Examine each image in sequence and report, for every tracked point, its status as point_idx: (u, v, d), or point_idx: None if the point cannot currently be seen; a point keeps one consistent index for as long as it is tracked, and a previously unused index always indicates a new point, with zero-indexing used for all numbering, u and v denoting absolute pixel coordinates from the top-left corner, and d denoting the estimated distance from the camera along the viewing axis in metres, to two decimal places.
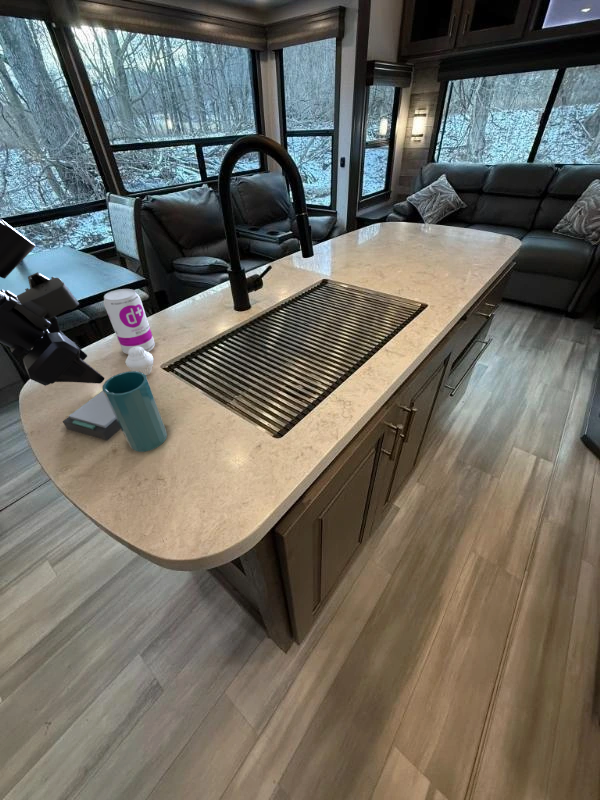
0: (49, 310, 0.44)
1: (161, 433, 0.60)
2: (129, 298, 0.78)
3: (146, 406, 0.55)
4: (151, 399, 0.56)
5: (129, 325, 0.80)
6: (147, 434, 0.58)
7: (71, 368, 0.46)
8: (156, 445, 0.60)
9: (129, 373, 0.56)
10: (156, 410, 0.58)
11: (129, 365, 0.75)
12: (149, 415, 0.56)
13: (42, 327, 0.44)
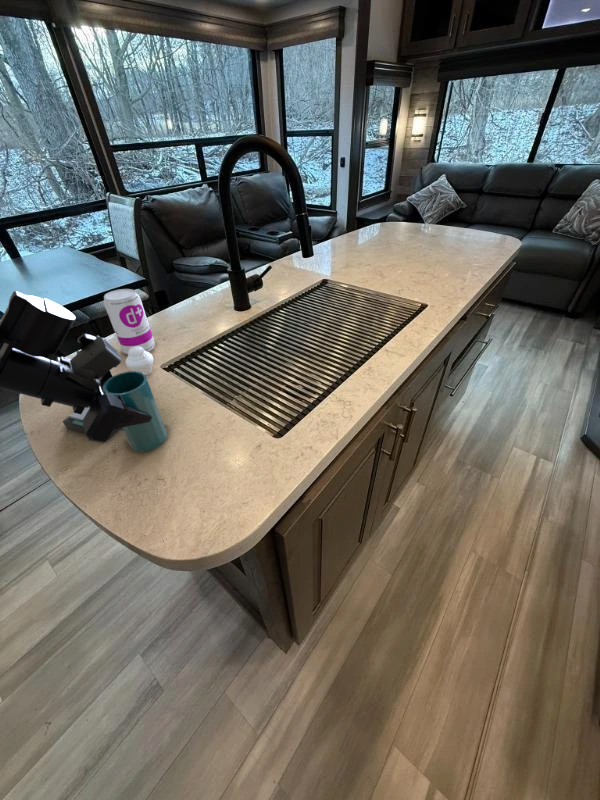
0: (97, 372, 0.48)
1: (161, 433, 0.60)
2: (129, 298, 0.78)
3: (146, 406, 0.55)
4: (151, 399, 0.56)
5: (129, 325, 0.80)
6: (147, 434, 0.58)
7: (121, 416, 0.52)
8: (156, 445, 0.60)
9: (129, 373, 0.57)
10: (156, 410, 0.58)
11: (129, 365, 0.75)
12: None
13: (94, 388, 0.49)
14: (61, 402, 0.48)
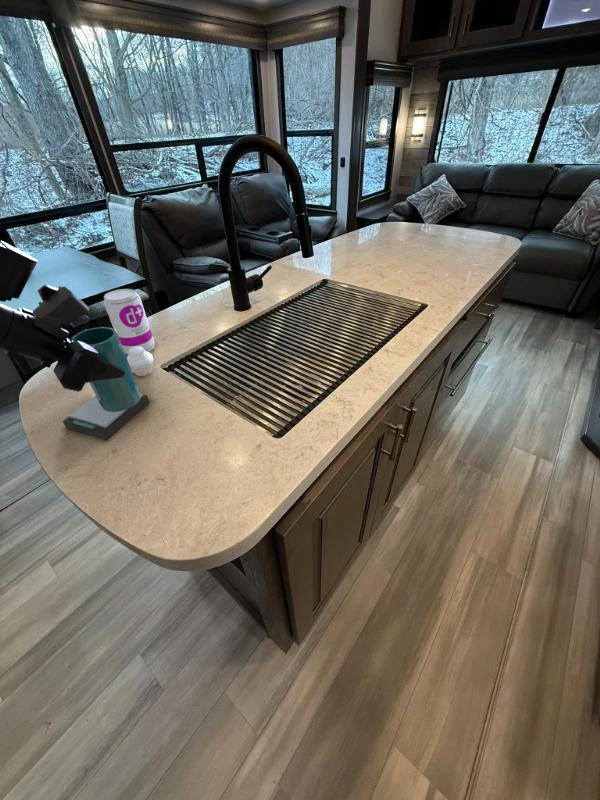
0: (64, 320, 0.47)
1: (135, 391, 0.59)
2: (129, 298, 0.78)
3: (118, 360, 0.54)
4: (123, 354, 0.55)
5: (129, 325, 0.80)
6: (121, 391, 0.57)
7: (94, 368, 0.50)
8: (130, 404, 0.59)
9: (96, 329, 0.55)
10: (128, 367, 0.57)
11: None
12: None
13: (62, 337, 0.47)
14: (27, 353, 0.46)
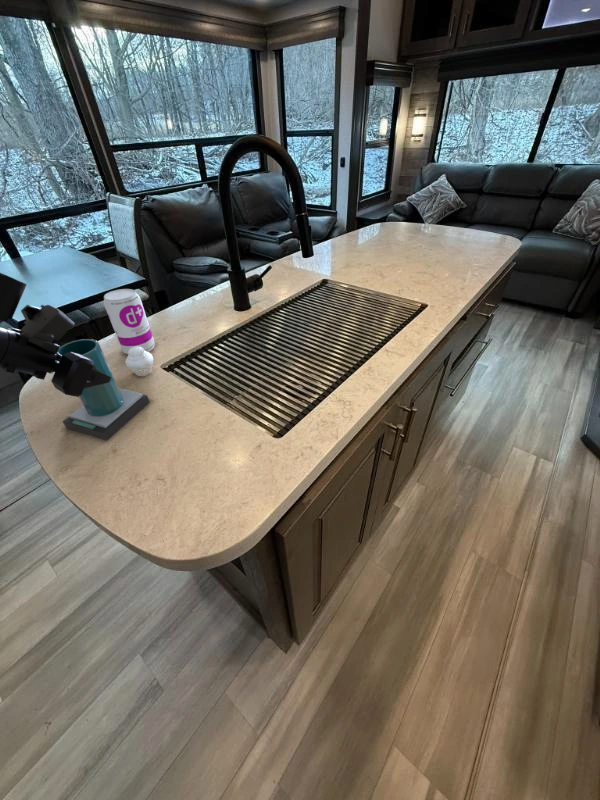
0: (54, 335, 0.52)
1: (119, 395, 0.65)
2: (129, 298, 0.78)
3: (103, 368, 0.60)
4: (105, 361, 0.61)
5: (129, 325, 0.80)
6: (108, 395, 0.62)
7: None
8: (116, 407, 0.65)
9: (76, 342, 0.60)
10: (111, 373, 0.63)
11: (129, 365, 0.75)
12: None
13: (54, 351, 0.52)
14: (23, 368, 0.50)
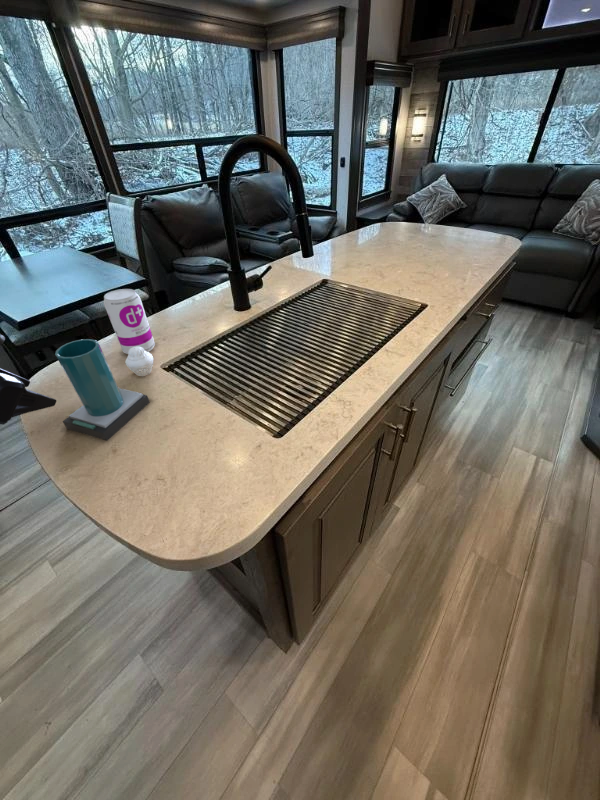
0: None
1: (119, 395, 0.65)
2: (129, 298, 0.78)
3: (103, 368, 0.60)
4: (105, 361, 0.61)
5: (129, 325, 0.80)
6: (108, 395, 0.62)
7: (21, 400, 0.49)
8: (116, 407, 0.65)
9: (76, 342, 0.60)
10: (111, 373, 0.63)
11: (129, 365, 0.75)
12: (107, 376, 0.61)
13: None
14: None
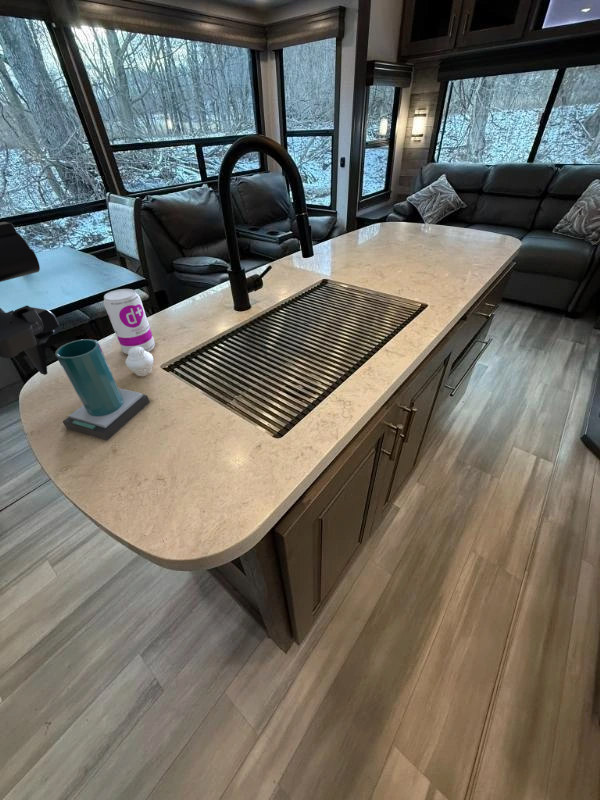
0: None
1: (119, 395, 0.65)
2: (129, 298, 0.78)
3: (103, 368, 0.60)
4: (105, 361, 0.61)
5: (129, 325, 0.80)
6: (108, 395, 0.62)
7: None
8: (116, 407, 0.65)
9: (76, 342, 0.60)
10: (111, 373, 0.63)
11: (129, 365, 0.75)
12: (107, 376, 0.61)
13: None
14: None
